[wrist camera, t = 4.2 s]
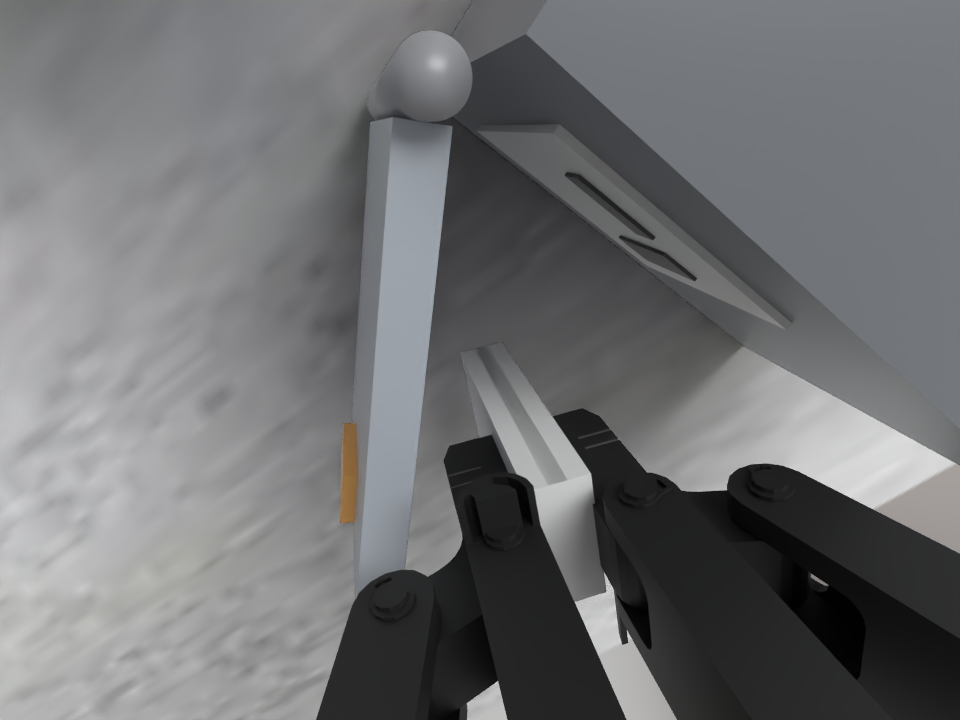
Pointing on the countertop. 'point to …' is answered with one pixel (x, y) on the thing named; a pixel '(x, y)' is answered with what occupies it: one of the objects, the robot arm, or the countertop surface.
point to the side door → (398, 291)
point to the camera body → (757, 171)
